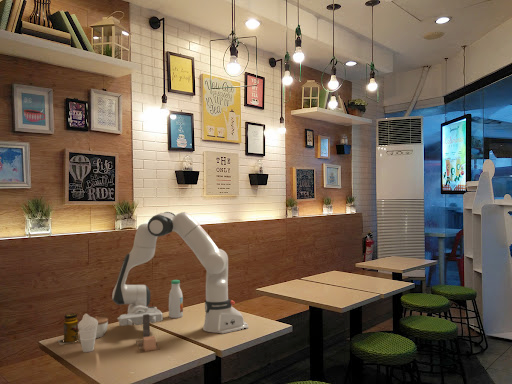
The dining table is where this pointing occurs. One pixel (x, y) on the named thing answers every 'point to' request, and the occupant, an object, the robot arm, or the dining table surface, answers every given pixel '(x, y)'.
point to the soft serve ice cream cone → (87, 332)
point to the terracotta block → (149, 343)
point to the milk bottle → (175, 300)
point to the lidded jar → (101, 326)
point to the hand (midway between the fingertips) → (143, 322)
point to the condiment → (70, 329)
